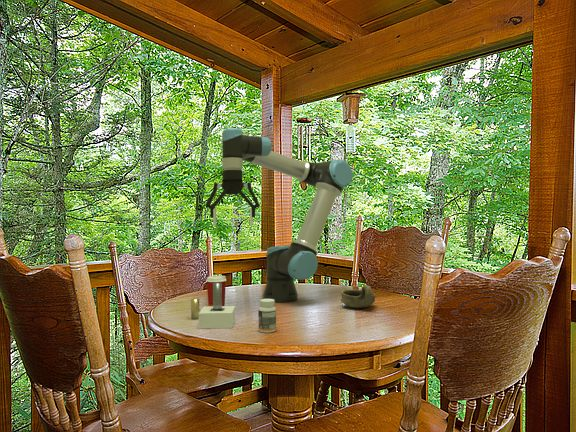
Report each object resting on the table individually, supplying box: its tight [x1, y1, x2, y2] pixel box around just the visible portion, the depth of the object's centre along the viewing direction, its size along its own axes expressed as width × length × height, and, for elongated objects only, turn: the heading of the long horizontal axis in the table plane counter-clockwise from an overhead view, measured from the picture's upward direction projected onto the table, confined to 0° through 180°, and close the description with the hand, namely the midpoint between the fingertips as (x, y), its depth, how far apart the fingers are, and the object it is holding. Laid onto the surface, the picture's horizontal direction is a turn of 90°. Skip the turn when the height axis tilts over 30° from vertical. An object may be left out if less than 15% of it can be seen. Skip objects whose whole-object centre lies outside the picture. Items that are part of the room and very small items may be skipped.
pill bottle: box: [257, 298, 277, 334], centre depth 147 cm, size 6×6×10 cm
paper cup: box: [205, 275, 227, 306], centre depth 171 cm, size 8×8×14 cm
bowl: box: [340, 285, 376, 309], centre depth 179 cm, size 14×18×10 cm
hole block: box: [198, 305, 236, 330], centre depth 156 cm, size 11×11×5 cm
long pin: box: [213, 283, 222, 311], centre depth 156 cm, size 3×3×14 cm
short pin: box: [190, 297, 201, 320], centre depth 164 cm, size 3×3×7 cm
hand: (233, 226), depth 172 cm, fingers open, 13 cm apart
